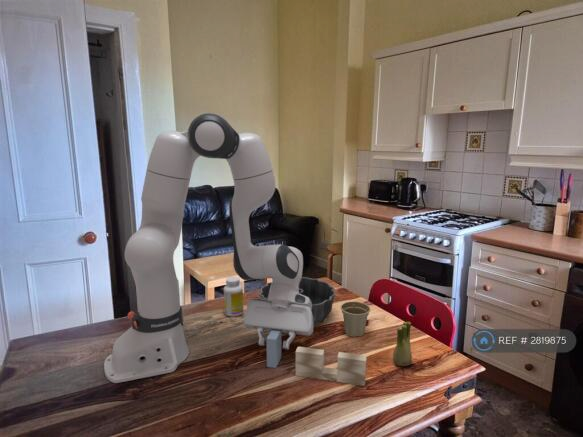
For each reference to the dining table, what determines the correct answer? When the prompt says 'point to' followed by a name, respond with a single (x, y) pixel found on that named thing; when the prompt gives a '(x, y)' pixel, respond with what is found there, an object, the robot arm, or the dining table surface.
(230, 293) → the supplement bottle
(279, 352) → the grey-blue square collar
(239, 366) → the dining table surface
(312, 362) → the beech slot board
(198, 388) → the dining table surface
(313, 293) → the bundt pan
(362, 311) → the flower pot
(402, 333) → the fennel bulb
